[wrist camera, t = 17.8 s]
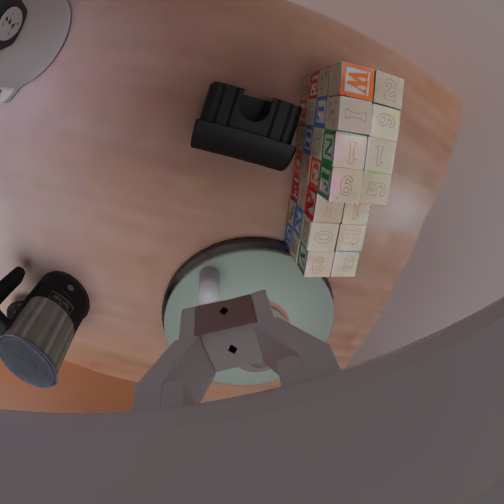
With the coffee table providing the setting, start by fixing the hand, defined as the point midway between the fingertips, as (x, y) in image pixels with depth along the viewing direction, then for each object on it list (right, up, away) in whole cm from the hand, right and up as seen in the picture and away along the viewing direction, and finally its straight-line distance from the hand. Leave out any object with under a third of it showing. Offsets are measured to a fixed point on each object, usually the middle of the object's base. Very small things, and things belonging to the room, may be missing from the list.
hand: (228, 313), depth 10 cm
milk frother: (-32, -6, +29) cm, 43 cm away
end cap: (0, +17, +22) cm, 28 cm away
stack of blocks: (+9, +13, +25) cm, 30 cm away
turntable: (+1, -8, +32) cm, 33 cm away
